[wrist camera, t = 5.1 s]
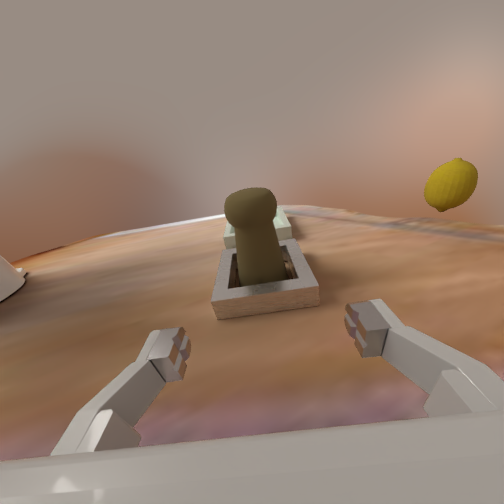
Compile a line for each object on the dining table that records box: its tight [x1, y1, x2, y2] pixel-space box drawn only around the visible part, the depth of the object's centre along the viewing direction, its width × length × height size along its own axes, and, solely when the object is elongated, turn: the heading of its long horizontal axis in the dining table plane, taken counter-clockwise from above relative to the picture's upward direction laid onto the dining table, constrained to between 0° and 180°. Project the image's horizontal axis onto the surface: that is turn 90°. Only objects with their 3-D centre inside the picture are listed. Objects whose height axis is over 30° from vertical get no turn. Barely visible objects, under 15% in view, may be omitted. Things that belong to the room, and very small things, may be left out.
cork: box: [224, 188, 288, 287], centre depth 21 cm, size 6×6×11 cm
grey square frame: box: [211, 238, 319, 320], centre depth 23 cm, size 10×10×2 cm
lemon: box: [424, 158, 478, 212], centre depth 29 cm, size 6×6×8 cm
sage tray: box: [223, 206, 292, 250], centre depth 36 cm, size 11×11×2 cm
